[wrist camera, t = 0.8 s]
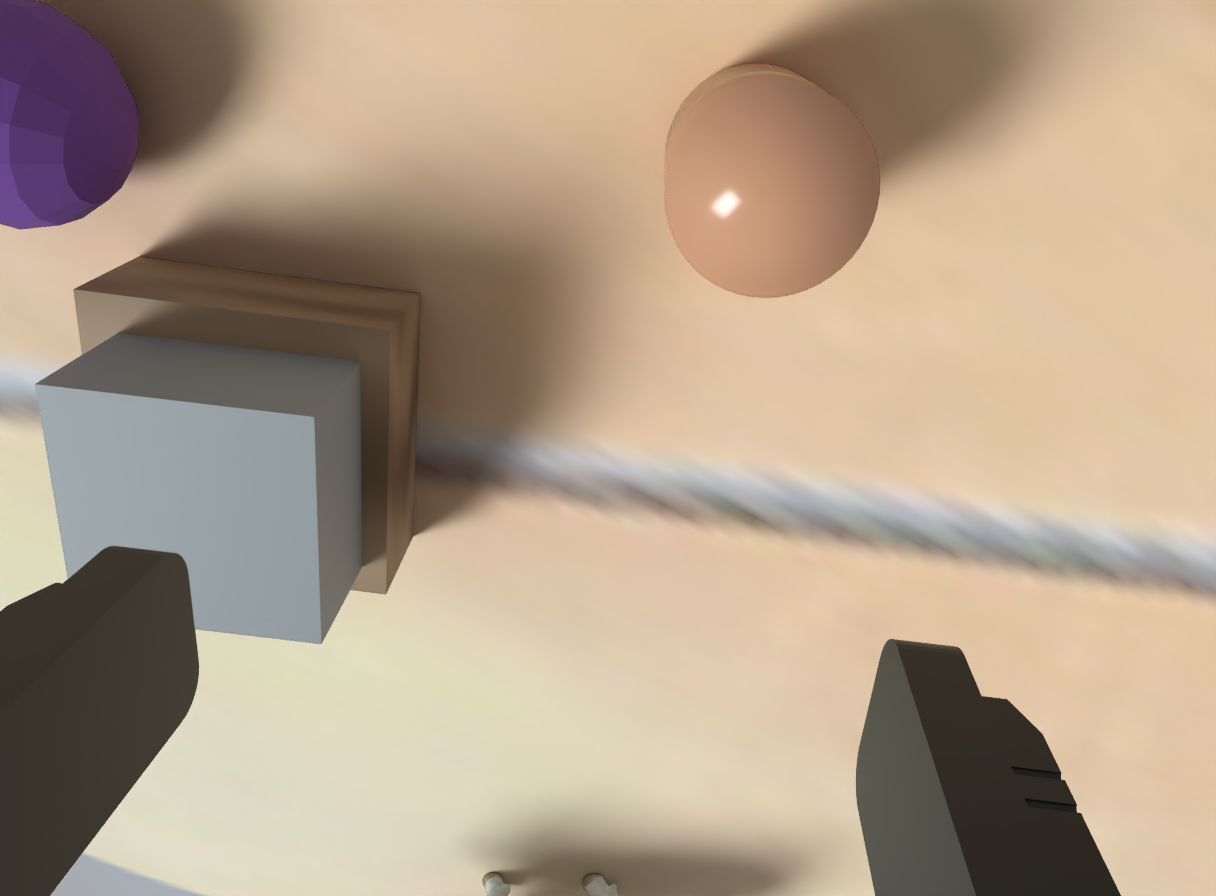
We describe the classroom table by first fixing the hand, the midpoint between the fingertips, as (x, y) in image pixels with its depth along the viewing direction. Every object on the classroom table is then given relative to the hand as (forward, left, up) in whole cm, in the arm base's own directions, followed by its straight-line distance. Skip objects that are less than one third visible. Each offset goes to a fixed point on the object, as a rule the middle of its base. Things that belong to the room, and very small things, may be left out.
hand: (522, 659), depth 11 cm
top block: (+7, -10, -17) cm, 21 cm away
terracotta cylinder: (-3, +4, -20) cm, 21 cm away
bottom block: (+7, -10, -21) cm, 24 cm away
